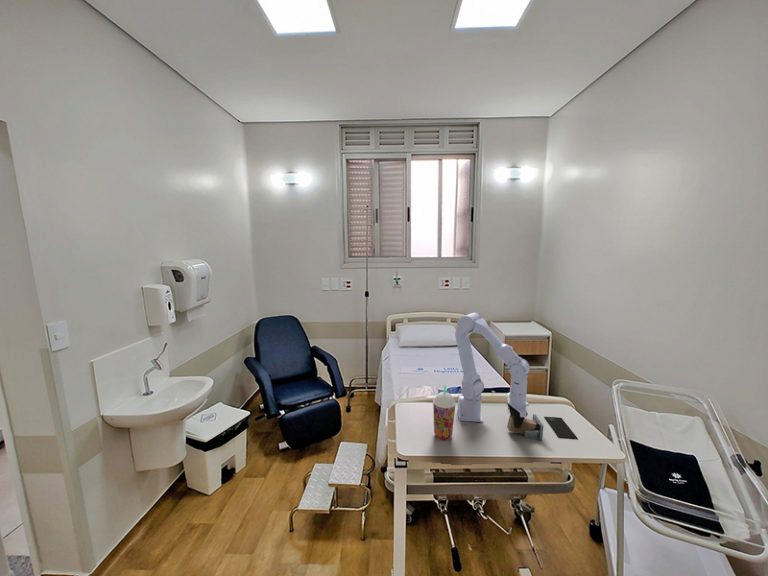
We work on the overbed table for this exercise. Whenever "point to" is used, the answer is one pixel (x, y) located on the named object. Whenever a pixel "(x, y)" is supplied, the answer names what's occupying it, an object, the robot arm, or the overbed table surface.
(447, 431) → the smoothie
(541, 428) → the bracket
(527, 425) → the brown rectangular block
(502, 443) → the overbed table surface
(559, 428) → the smartphone
